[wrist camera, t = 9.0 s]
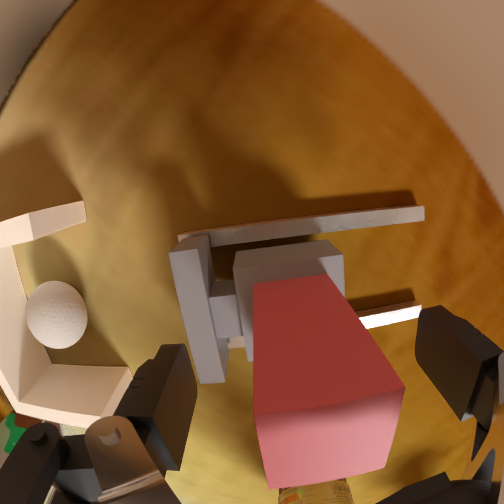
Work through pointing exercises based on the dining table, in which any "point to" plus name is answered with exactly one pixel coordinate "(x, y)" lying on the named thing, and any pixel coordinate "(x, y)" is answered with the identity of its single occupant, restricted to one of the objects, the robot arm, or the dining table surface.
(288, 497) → the sauce bottle
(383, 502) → the robot arm
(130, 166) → the dining table surface
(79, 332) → the sports ball
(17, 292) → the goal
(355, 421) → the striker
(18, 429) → the food container
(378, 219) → the track
